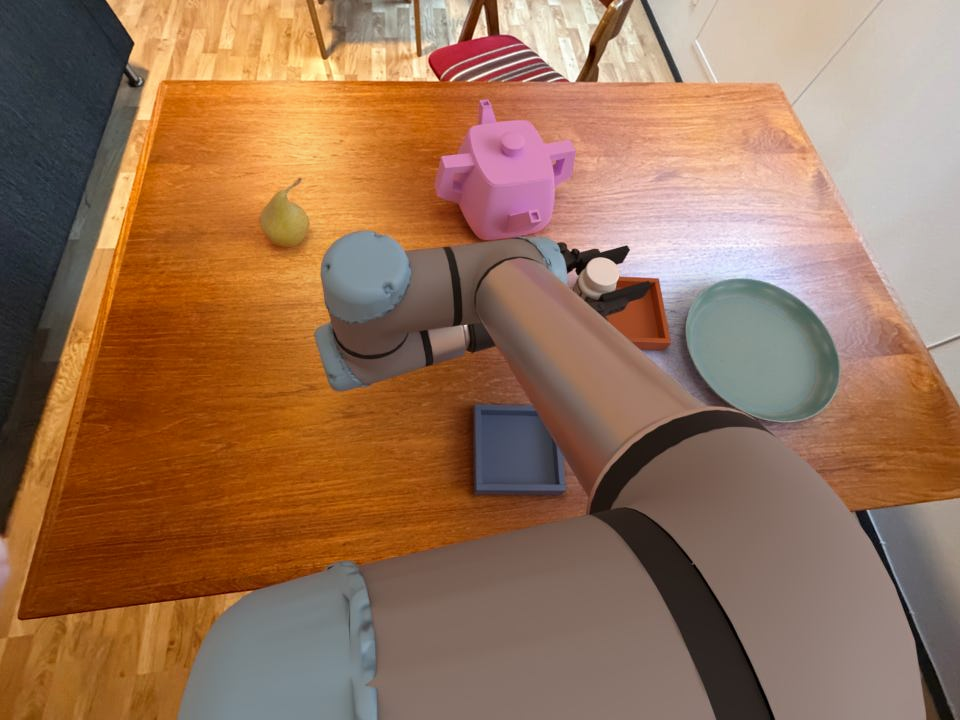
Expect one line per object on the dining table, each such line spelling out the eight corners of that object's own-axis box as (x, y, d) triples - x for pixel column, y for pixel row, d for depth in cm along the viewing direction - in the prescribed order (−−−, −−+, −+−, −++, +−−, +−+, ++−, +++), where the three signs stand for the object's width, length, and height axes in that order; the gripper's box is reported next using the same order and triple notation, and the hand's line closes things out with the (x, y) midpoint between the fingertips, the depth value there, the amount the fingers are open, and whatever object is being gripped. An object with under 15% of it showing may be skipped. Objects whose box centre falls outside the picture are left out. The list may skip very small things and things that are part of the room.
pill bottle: (608, 308, 72) (630, 271, 64) (587, 330, 70) (608, 295, 63) (579, 286, 73) (598, 247, 65) (558, 308, 71) (575, 270, 64)
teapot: (474, 152, 98) (484, 77, 84) (567, 194, 96) (593, 123, 82) (423, 226, 89) (425, 155, 76) (524, 273, 88) (544, 209, 74)
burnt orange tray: (664, 350, 84) (671, 343, 82) (590, 348, 83) (595, 340, 80) (652, 287, 89) (658, 278, 87) (583, 283, 88) (587, 274, 85)
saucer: (718, 445, 78) (730, 438, 75) (652, 303, 88) (660, 292, 85) (856, 409, 83) (872, 401, 80) (779, 278, 93) (791, 267, 90)
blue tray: (561, 494, 73) (566, 490, 70) (474, 494, 71) (476, 490, 69) (554, 412, 78) (558, 405, 75) (473, 410, 76) (474, 404, 74)
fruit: (262, 226, 86) (240, 169, 75) (310, 215, 88) (295, 159, 77) (271, 259, 83) (250, 205, 73) (320, 248, 85) (307, 194, 75)
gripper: (431, 278, 68) (594, 235, 74) (483, 404, 62) (658, 346, 67) (432, 240, 62) (612, 196, 67) (492, 377, 55) (685, 315, 61)
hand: (634, 271), depth 67 cm, fingers closed on pill bottle, 5 cm apart
